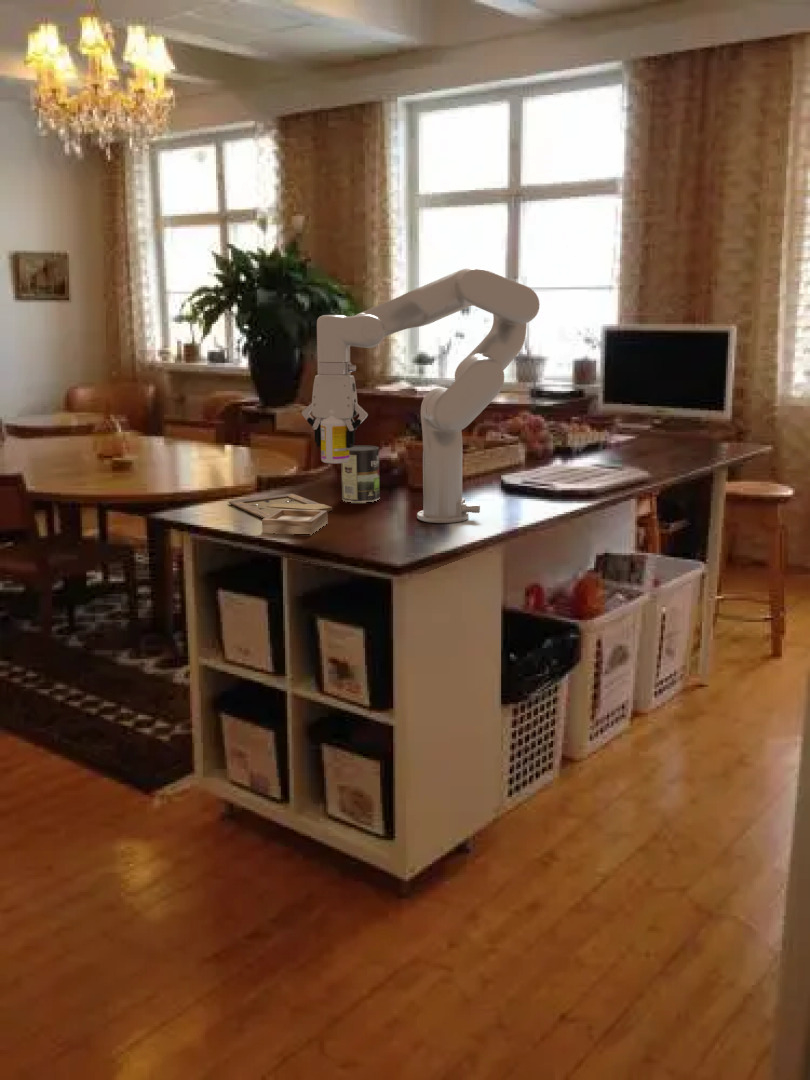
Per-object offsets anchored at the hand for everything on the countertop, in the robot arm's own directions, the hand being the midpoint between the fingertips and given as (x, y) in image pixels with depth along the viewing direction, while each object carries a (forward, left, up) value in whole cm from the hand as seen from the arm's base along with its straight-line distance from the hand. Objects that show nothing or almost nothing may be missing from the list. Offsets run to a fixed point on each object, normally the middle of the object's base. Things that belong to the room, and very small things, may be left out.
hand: (334, 446), depth 229 cm
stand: (+8, +6, -19) cm, 21 cm away
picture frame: (+20, -15, -20) cm, 32 cm away
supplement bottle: (0, 0, -4) cm, 4 cm away
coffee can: (+2, -29, -19) cm, 35 cm away
